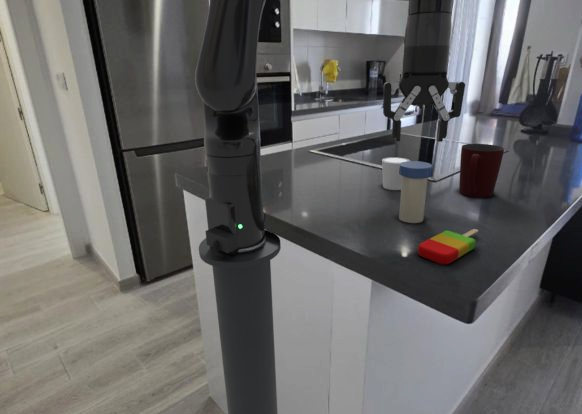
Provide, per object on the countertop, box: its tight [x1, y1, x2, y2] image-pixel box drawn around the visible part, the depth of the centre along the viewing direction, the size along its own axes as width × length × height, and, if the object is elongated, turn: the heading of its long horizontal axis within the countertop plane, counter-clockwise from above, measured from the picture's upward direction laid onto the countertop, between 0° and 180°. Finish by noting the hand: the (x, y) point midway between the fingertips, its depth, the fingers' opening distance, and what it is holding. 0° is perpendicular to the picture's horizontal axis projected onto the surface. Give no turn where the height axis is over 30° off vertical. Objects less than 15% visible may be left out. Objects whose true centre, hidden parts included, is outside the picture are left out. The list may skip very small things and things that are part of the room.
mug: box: [458, 143, 505, 199], centre depth 88 cm, size 12×9×11 cm
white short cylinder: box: [381, 156, 411, 191], centre depth 95 cm, size 7×7×7 cm
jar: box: [398, 176, 429, 224], centre depth 75 cm, size 5×5×11 cm
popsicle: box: [417, 228, 479, 266], centre depth 64 cm, size 6×15×2 cm, turn 131°
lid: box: [399, 160, 433, 179], centre depth 73 cm, size 6×6×2 cm
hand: (418, 140), depth 71 cm, fingers open, 7 cm apart
